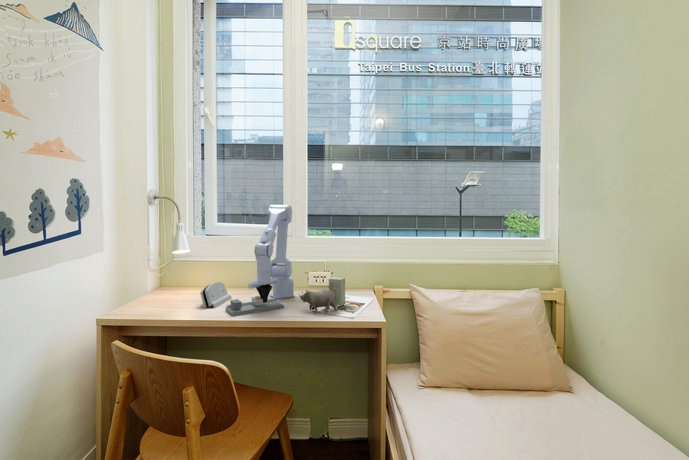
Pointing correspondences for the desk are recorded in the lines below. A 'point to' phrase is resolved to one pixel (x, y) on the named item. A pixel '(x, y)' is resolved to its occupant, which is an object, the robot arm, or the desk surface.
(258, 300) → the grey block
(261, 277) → the robot arm
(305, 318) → the desk surface
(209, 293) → the grey upright panel
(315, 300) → the grey four-legged figurine
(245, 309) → the hole board
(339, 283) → the skincare box
